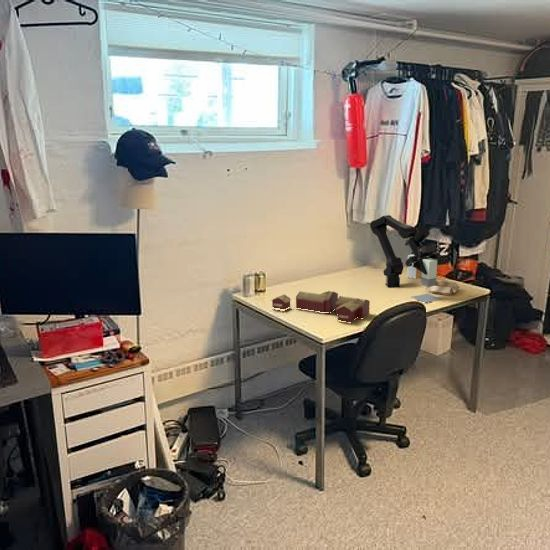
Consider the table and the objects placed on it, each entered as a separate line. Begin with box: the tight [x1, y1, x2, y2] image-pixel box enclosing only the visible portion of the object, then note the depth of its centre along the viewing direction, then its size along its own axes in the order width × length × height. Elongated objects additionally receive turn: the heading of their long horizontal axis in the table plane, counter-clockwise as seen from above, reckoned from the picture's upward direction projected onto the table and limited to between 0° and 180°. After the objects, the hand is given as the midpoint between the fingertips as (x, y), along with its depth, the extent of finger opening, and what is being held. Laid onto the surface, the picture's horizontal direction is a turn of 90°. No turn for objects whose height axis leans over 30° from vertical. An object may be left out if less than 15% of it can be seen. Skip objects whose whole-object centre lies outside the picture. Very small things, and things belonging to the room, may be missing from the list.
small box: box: [406, 254, 422, 280], centre depth 310 cm, size 8×6×13 cm
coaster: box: [411, 293, 443, 304], centre depth 271 cm, size 11×11×1 cm
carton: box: [425, 279, 460, 296], centre depth 281 cm, size 15×15×5 cm
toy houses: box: [270, 290, 371, 323], centre depth 255 cm, size 45×20×10 cm, turn 59°
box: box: [420, 258, 438, 288], centre depth 268 cm, size 5×5×13 cm
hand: (430, 273), depth 267 cm, fingers closed on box, 5 cm apart
